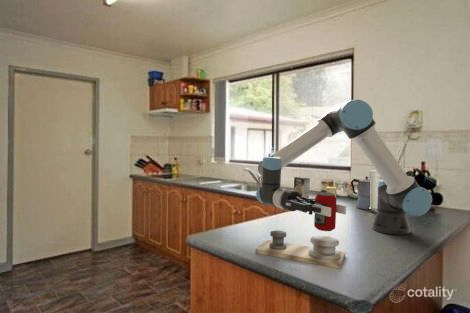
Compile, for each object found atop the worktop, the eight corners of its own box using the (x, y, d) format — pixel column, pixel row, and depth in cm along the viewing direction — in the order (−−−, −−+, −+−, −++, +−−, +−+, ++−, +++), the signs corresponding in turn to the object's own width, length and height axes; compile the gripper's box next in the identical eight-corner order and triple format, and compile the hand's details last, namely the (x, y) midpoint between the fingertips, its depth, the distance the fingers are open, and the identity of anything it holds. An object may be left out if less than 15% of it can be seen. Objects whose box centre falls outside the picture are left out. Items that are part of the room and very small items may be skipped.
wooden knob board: (345, 256, 107) (345, 237, 107) (340, 268, 96) (341, 247, 96) (267, 243, 119) (268, 226, 119) (255, 253, 108) (256, 234, 108)
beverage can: (311, 226, 107) (312, 191, 106) (330, 226, 107) (331, 191, 107) (318, 232, 100) (319, 194, 100) (338, 232, 101) (340, 195, 100)
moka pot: (378, 210, 188) (379, 177, 187) (351, 209, 191) (352, 176, 190) (374, 207, 197) (375, 176, 197) (348, 206, 200) (349, 175, 200)
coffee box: (293, 200, 218) (293, 177, 217) (299, 199, 222) (299, 176, 221) (303, 202, 211) (304, 178, 210) (309, 201, 215) (310, 178, 214)
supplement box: (335, 203, 209) (336, 187, 209) (335, 205, 204) (336, 188, 203) (326, 202, 211) (327, 186, 211) (326, 204, 206) (326, 187, 205)
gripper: (305, 207, 124) (356, 219, 105) (267, 211, 113) (316, 226, 94) (306, 188, 124) (357, 197, 105) (267, 191, 113) (317, 201, 94)
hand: (338, 211), depth 99 cm, fingers closed on beverage can, 7 cm apart
